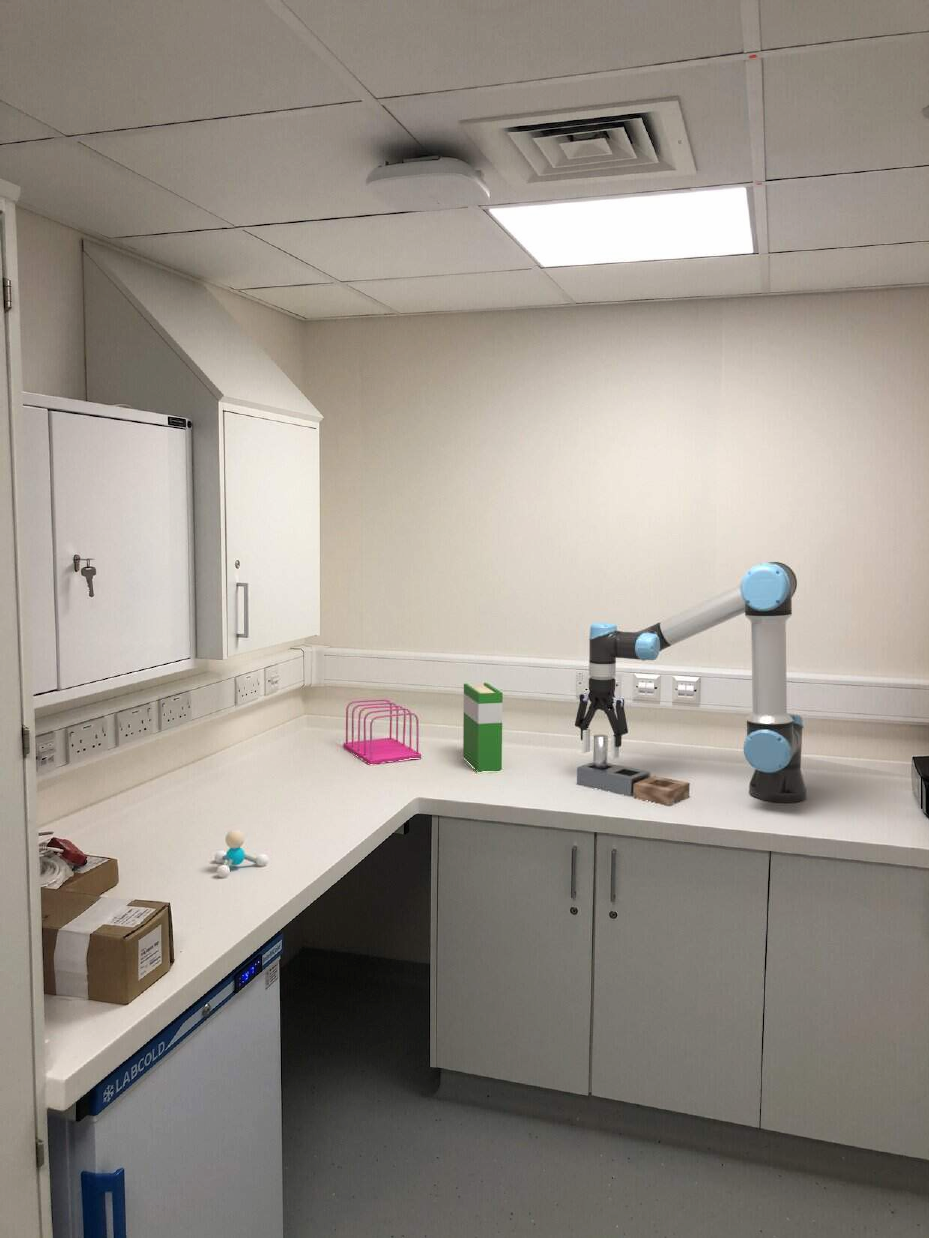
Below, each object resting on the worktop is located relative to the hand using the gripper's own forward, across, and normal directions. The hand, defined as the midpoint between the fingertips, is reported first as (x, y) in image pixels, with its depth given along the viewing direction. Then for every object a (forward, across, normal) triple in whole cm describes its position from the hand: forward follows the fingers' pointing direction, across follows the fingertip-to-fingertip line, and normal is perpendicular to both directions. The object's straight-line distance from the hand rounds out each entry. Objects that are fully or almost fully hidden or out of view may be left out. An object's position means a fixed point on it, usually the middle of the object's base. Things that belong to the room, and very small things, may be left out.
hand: (600, 754), depth 278 cm
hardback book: (+9, +38, +7) cm, 40 cm away
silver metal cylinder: (+9, 0, 0) cm, 9 cm away
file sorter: (+9, +72, +18) cm, 75 cm away
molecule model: (+9, +22, +110) cm, 113 cm away
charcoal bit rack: (+9, -4, 0) cm, 10 cm away
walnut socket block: (+9, -20, 0) cm, 22 cm away
